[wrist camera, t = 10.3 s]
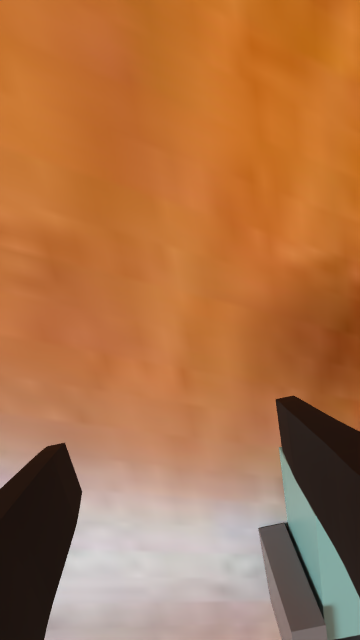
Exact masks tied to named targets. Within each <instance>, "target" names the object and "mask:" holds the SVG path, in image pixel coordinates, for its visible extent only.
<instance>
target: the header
mask: <svg viewBox="0 0 360 640" xmlns="http://www.w3.org/2000/svg"><path fill="white" fill-rule="evenodd" d="M258 529H259V535H260V541H261V546H262V552H263V558H264V564H265V570H266V575H267V581H268V587H269V593H270V599H271V604H272V607H273V610H274V614H275V617H276V621H277V624H278V628H279V631H280V635H281V638H282V640H327V631H326V624H325V622H324V619H323V617H322V614H321V612H320V609H319V607H318V605H317V602H316V600H315V597H314V595H313V592H312V590H311V588H310V585H309V583H308V580H307V578H306V575H305V573H304V570H303V568H302V566H301V563H300V561H299V558H298V556H297V553H296V551H295V549H294V546H293V544H292V541H291V539H290V536H289V534H288V531H287V529H286V527H285V524H284V523H283V524H278V525H273V526H268V527H263V528H258ZM335 640H360V635H356V636H351V637H345V638H340V639H335Z"/></svg>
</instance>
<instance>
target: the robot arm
mask: <svg viewBox="0 0 360 640" xmlns="http://www.w3.org/2000/svg"><path fill="white" fill-rule="evenodd" d="M276 406H277V414H278V421H279V429H280V436H281V444H282V451H283V453H284V455H285V458H286V460H287V462H288V465H289V467H290V469H291V472H292V474H293V476H294V478H295V480H296V482H297V484H298V485H299V487H300V489H301V491H302V492H303V494H304V496H305V498H306V499H307V501H308V503H309V505H310V506H311V508H312V510H313V511H314V513H315V515H316V516H317V518H318V520H319V522H320V523H321V525H322V527H323V528H324V530H325V532H326V534H327V535H328V537H329V539H330V540H331V542H332V544H333V546H334V547H335V549H336V551H337V553H338V555H339V557H340V559H341V560H342V562H343V564H344V566H345V568H346V571H347V573H348V575H349V577H350V579H351V581H352V583H353V585H354V587H355V589H356V592H357V594H358V596H359V598H360V432H359V431H357V430H355V429H353V428H351V427H349V426H347V425H345V424H344V423H342V422H340V421H338V420H336V419H334V418H332V417H331V416H329V415H327V414H325V413H323V412H322V411H320V410H318V409H316V408H315V407H313V406H311V405H309V404H308V403H306V402H304V401H302V400H301V399H299V398H297V397H295V396H289V397H285V398H280V399H276ZM81 495H82V490H81V487H80V484H79V482H78V479H77V476H76V473H75V470H74V467H73V465H72V462H71V459H70V456H69V453H68V450H67V448H66V445H65V443H61V444H56V445H51V446H47V447H46V448H45V449H43V450H42V451H41V452H40V453H38V454H37V455H36V456H35V457H34V458H33V459H32V460H31V461H30V462H29V463H28V464H26V465H25V466H24V467H23V468H22V469H21V470H20V471H19V472H18V473H17V474H16V475H15V476H14V477H13V478H12V479H10V480H9V481H8V482H7V483H6V484H5V485H4V486H3V487H2V488H1V489H0V640H44V638H45V633H46V628H47V624H48V620H49V616H50V612H51V608H52V605H53V601H54V598H55V595H56V591H57V588H58V585H59V581H60V578H61V575H62V571H63V568H64V565H65V562H66V558H67V555H68V552H69V548H70V545H71V541H72V538H73V535H74V531H75V528H76V524H77V519H78V514H79V508H80V502H81Z"/></svg>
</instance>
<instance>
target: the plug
mask: <svg viewBox="0 0 360 640" xmlns="http://www.w3.org/2000/svg"><path fill="white" fill-rule="evenodd" d="M279 452H280V460H281V469H282V477H283V486H284V494H285V503H286V512H287V520H288V529H289V536H290V539H291V541H292V544H293V546H294V549H295V551H296V553H297V556H298V558H299V561H300V563H301V566H302V568H303V570H304V573H305V575H306V578H307V580H308V583H309V585H310V588H311V590H312V592H313V595H314V597H315V600H316V602H317V605H318V607H319V609H320V612H321V614H322V617H323V619H324V622H325V624H326V631H327V640H335V639H340V638H345V637H351V636H356V635H360V598H359V596H358V594H357V592H356V589H355V587H354V585H353V583H352V581H351V579H350V577H349V575H348V573H347V571H346V568H345V566H344V564H343V562H342V560H341V559H340V557H339V555H338V553H337V551H336V549H335V547H334V546H333V544H332V542H331V540H330V539H329V537H328V535H327V534H326V532H325V530H324V528H323V527H322V525H321V523H320V522H319V520H318V518H317V516H316V515H315V513H314V511H313V510H312V508H311V506H310V505H309V503H308V501H307V499H306V498H305V496H304V494H303V492H302V491H301V489H300V487H299V485H298V484H297V482H296V480H295V478H294V476H293V474H292V472H291V469H290V467H289V465H288V462H287V460H286V458H285V455H284V453H283V451H282V447H279Z"/></svg>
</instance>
